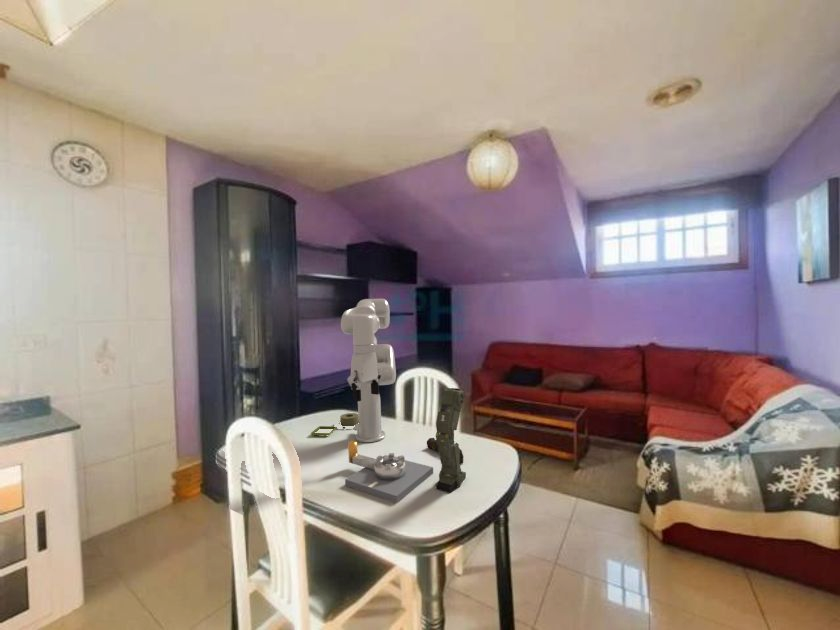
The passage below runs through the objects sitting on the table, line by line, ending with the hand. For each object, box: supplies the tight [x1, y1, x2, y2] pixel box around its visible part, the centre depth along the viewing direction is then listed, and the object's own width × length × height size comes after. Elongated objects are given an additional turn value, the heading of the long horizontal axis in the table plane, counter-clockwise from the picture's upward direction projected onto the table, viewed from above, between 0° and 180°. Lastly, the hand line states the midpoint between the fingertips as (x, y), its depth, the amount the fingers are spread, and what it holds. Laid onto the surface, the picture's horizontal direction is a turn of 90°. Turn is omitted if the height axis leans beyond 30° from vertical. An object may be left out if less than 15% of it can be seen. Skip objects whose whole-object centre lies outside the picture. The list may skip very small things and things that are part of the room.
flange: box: [339, 412, 359, 426], centre depth 167 cm, size 5×15×15 cm
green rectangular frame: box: [310, 425, 337, 436], centre depth 156 cm, size 9×9×2 cm
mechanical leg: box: [435, 387, 467, 494], centre depth 109 cm, size 14×7×30 cm, turn 148°
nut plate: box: [344, 454, 434, 504], centre depth 112 cm, size 20×20×2 cm
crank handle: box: [347, 440, 406, 480], centre depth 115 cm, size 22×10×7 cm, turn 57°
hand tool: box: [426, 437, 464, 464], centre depth 128 cm, size 19×4×5 cm, turn 33°
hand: (366, 397), depth 124 cm, fingers open, 9 cm apart
